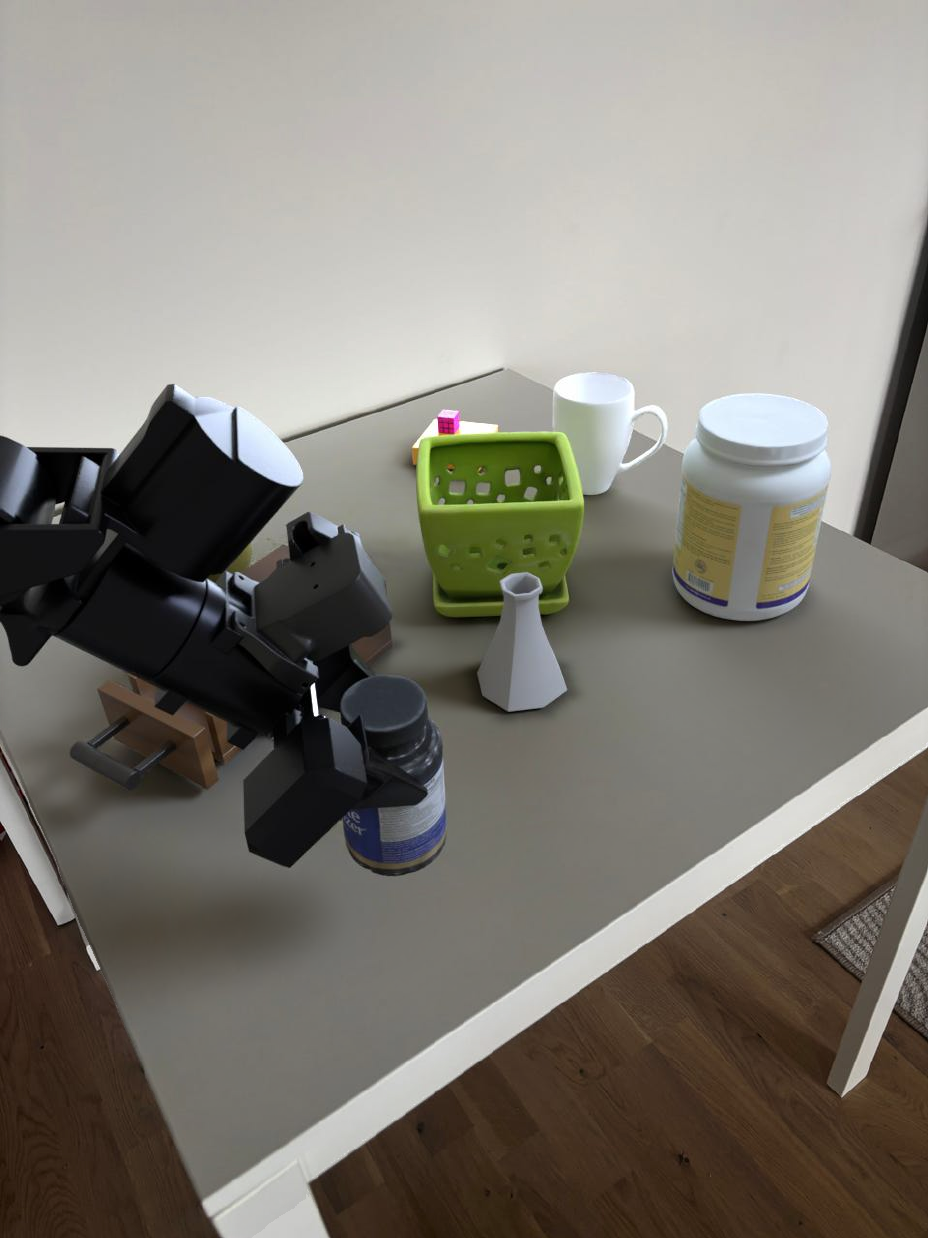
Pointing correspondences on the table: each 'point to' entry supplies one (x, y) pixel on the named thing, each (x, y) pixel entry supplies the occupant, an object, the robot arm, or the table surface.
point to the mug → (600, 425)
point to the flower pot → (498, 518)
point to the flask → (520, 651)
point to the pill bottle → (415, 746)
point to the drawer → (155, 737)
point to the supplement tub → (751, 506)
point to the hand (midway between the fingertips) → (413, 757)
